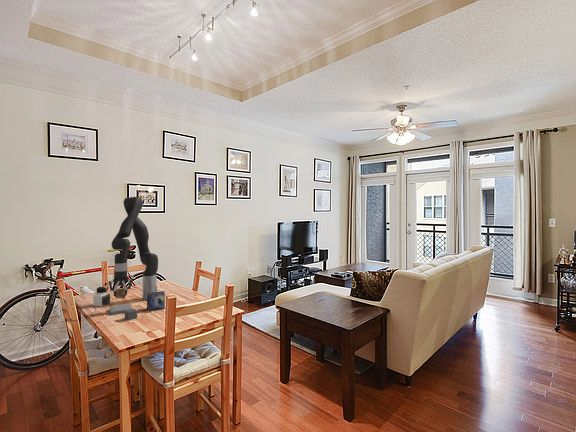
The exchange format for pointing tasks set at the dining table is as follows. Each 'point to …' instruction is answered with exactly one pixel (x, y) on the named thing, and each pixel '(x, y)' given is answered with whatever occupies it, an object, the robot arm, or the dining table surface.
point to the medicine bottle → (101, 297)
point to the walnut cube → (120, 293)
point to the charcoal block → (130, 314)
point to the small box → (155, 300)
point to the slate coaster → (119, 309)
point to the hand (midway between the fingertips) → (120, 296)
